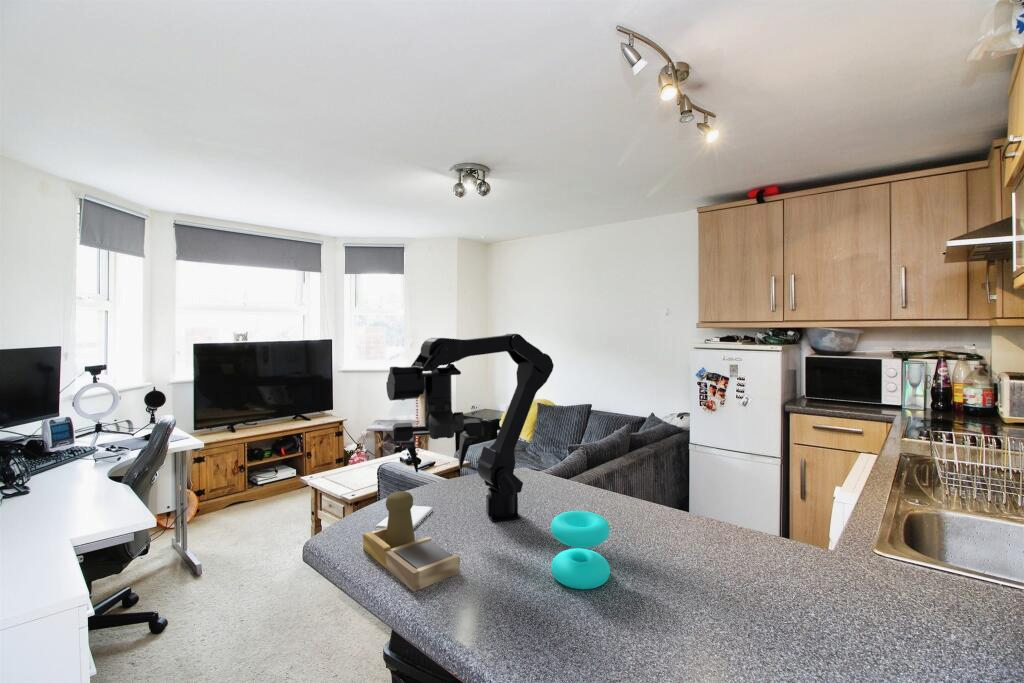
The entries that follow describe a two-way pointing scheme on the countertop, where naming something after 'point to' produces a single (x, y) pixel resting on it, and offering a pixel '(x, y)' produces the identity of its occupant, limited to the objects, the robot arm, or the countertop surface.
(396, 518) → the olive brown pawn
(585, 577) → the donuts
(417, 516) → the external hard drive
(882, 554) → the countertop surface
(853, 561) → the countertop surface
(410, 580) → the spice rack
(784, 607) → the countertop surface
